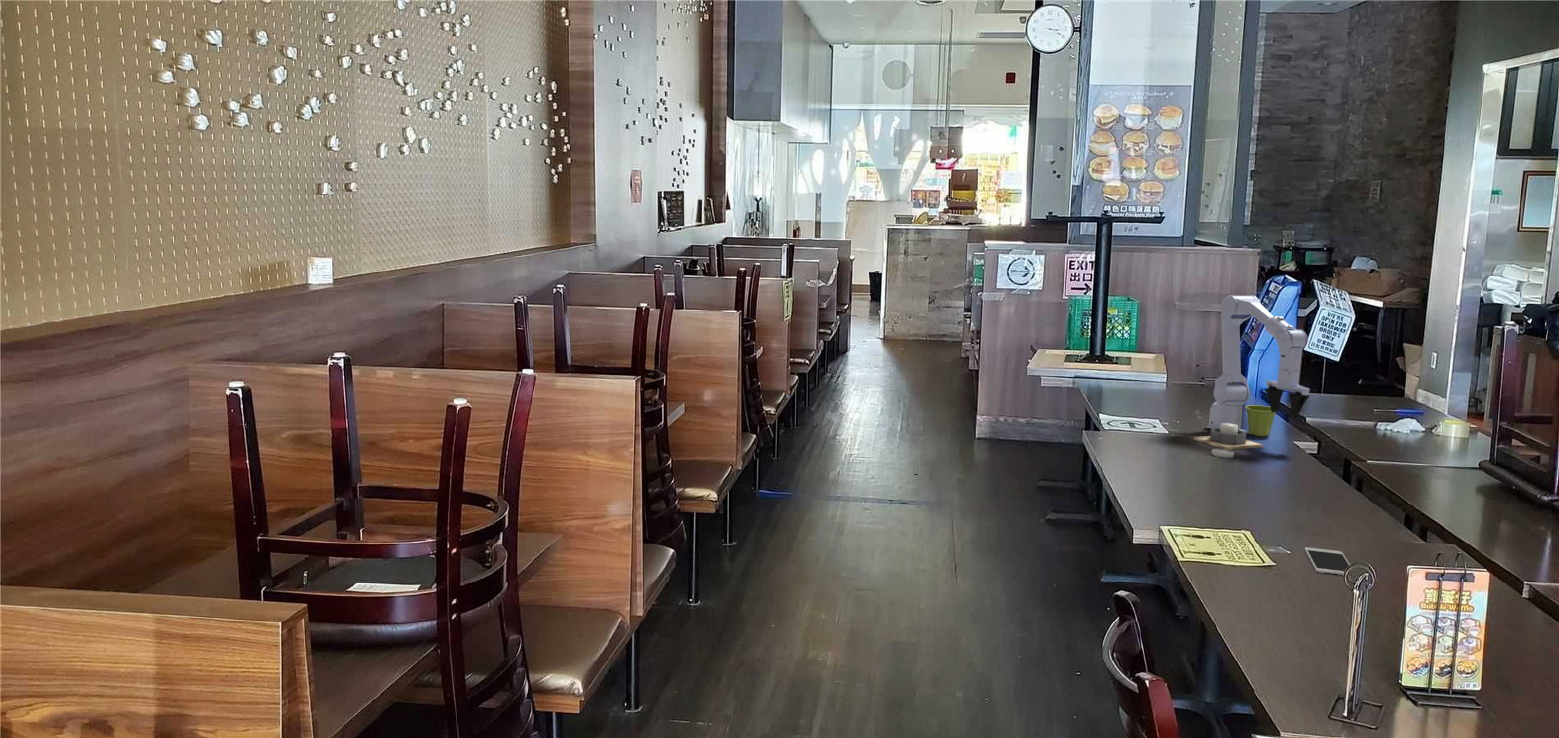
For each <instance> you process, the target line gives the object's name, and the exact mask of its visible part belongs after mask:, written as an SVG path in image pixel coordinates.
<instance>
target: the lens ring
mask: <svg viewBox="0 0 1559 738" xmlns="http://www.w3.org/2000/svg"><path fill="white" fill-rule="evenodd" d="M1242 430H1243V429H1242ZM1242 430H1238V434H1226V433H1220V428H1212V429H1211V428H1210V435H1209V436H1210V440H1211V441H1214V442H1218V443H1222V444H1231V445H1240V444H1246V440H1247V434H1248V431H1246V430H1245V431H1246V432H1245V431H1242Z"/></svg>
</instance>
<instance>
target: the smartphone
mask: <svg viewBox="0 0 1559 738" xmlns="http://www.w3.org/2000/svg"><path fill="white" fill-rule="evenodd" d="M1304 552H1305V553H1306V556H1307V557H1308V559H1309V561H1310V563H1311V565H1312V567H1313V568H1314V570H1315V573H1317V572H1319V573H1318V574H1324V573H1332V574H1333V573H1336V574H1339V575H1338V576H1340V575H1341V574H1342V576H1341V577H1345V576H1344V571H1345V569H1346V568H1347V567H1348V566H1349V565H1350V566H1351V563H1349V561H1348V560H1347V558H1346V556H1345V554H1344V553H1343V551H1340V550H1332V549H1324V548H1323V549H1322V548H1316V547H1307V546H1305V547H1304ZM1332 574H1331V575H1332Z"/></svg>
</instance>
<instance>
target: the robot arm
mask: <svg viewBox="0 0 1559 738" xmlns="http://www.w3.org/2000/svg"><path fill="white" fill-rule="evenodd" d="M1251 317H1253V318H1254V319H1256V320H1257V321H1259V322H1260V323H1262V324H1263V325H1264V330H1265V331H1266V332H1267V333H1268V334H1269V335H1271V336H1272V337H1273V338H1274V339H1275V340H1276V342H1277V345H1278V352H1279V363H1278V373H1277V380H1272V379H1271V380H1270V379H1268V380H1266V384H1265V387H1267V388H1265V389H1264V392H1265V393H1266V395H1267V397H1268V401H1269V404H1270V405H1269V407H1271V412H1276V413H1278V412H1279V409H1280V404H1281V399H1282V396H1283V394H1284V392H1285V391H1286V392H1292V393H1289V395H1288V396H1289V398H1290V417H1291V418H1298V417H1299V415H1300V413H1301V410H1302V408H1303V406H1304V404H1305V403H1306V401H1307V400H1308V399H1309V397H1310V388H1309V387H1305V386H1303V385H1300V384H1299V383H1300V382H1299V381H1300V373H1301V372H1300V371H1301V363H1302V354H1303V349H1305V348H1306V346H1307V345H1308V341H1309V338H1308V335H1307V333H1306V332H1305V330H1303V329H1297V328H1295V327H1294V326H1293V325H1292V324H1290V323H1288V322H1287V321H1286V320H1285V317H1284V316H1281V315H1280V316H1278V315H1275V316H1274V315H1272V313H1271V312H1269V310H1268V309H1267V308H1265V306H1263V305H1262V303H1261V299H1259V298H1258V297H1257V296H1256V295H1232V294H1229V295H1226V296H1225V297H1224V298H1223V299H1222V301H1221V302H1220V321H1221V324H1220V325H1221V354H1222V355H1221V356H1222V360H1221V361H1222V374H1221V375H1220V376H1219V377H1217V378H1216V379H1215V381H1214V382H1215V384H1214V387H1213V388H1214V389H1213V397H1214V399H1215V402H1213V403H1212V404H1211V406H1210V410H1209V419H1208V425H1207V426H1206V428H1207V429H1210V430H1211V429H1212V428H1220V425H1221V423H1231V424H1236V425H1238V430H1242V431H1245V432H1247V430H1246V429H1245V430H1244V429H1241V424H1242V415H1243V413H1242V412H1243V406H1244V405H1245V404H1246V403H1245V402H1247V401H1248V400H1249V398H1250V396H1251V395H1250V394H1251V393H1250V388H1249V385H1248V379H1247V378H1246V377H1245V376H1244V375H1243V374H1242V372H1241V371H1242V370H1241V369H1242V368H1241V365H1242V364H1241V334H1240V333H1241V332H1240V331H1241V329H1240V326H1241V324H1243V323H1244V322H1245V321H1246V320H1248V319H1250V318H1251Z"/></svg>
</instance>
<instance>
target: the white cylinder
mask: <svg viewBox="0 0 1559 738" xmlns="http://www.w3.org/2000/svg"><path fill="white" fill-rule="evenodd" d="M1220 433H1226V434H1238V425H1236V424H1231V423H1221V425H1220Z"/></svg>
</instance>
